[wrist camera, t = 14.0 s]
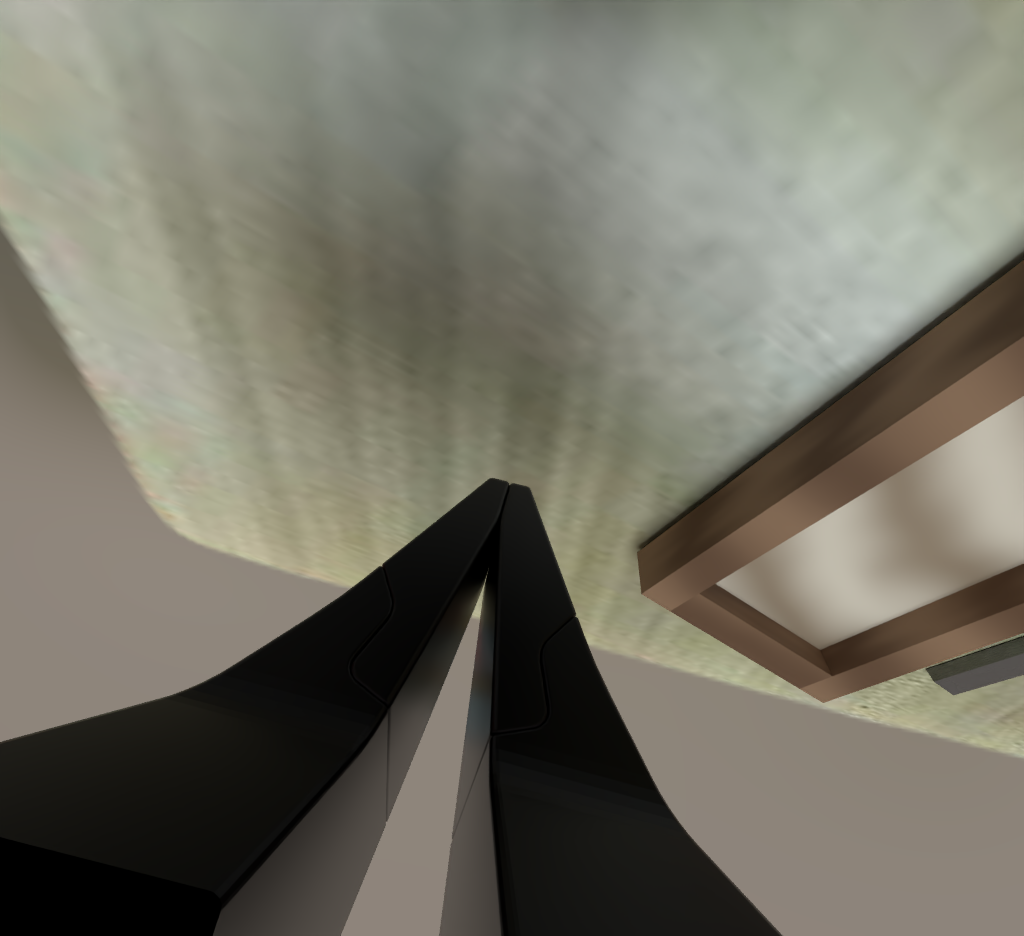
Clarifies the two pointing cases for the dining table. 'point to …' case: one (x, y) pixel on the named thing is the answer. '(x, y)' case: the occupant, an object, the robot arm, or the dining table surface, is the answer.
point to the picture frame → (873, 519)
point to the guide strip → (981, 668)
